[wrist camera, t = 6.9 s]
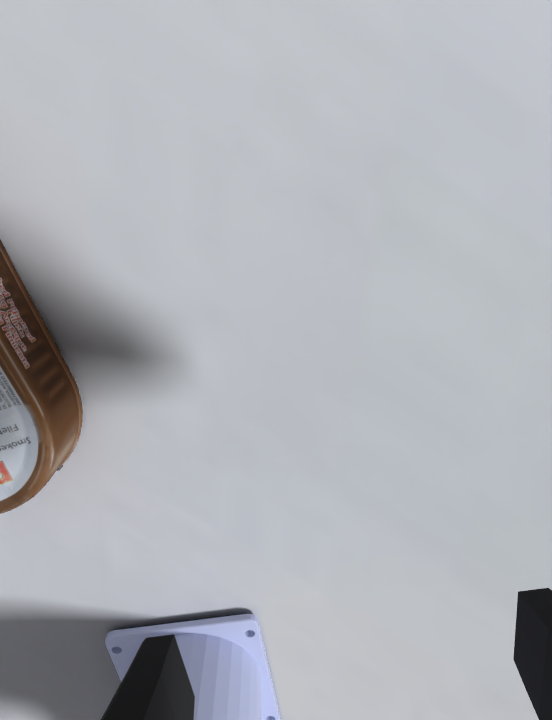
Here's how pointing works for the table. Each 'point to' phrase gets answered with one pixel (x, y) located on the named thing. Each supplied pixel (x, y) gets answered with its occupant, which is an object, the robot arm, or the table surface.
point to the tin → (31, 396)
